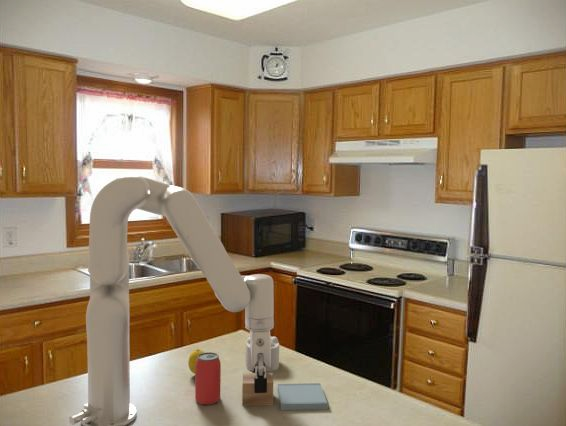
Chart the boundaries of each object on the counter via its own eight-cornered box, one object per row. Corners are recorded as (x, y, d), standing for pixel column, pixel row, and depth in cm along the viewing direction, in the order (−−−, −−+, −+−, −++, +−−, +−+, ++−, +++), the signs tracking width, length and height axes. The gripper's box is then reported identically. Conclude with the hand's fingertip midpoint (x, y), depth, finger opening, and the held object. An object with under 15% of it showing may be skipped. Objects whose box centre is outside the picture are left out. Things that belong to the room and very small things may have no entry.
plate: (281, 410, 123) (281, 404, 123) (277, 389, 135) (277, 383, 135) (327, 409, 124) (327, 403, 124) (320, 388, 136) (320, 383, 136)
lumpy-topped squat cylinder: (247, 372, 147) (247, 344, 146) (244, 356, 160) (244, 330, 159) (280, 370, 148) (281, 343, 148) (275, 355, 161) (275, 329, 160)
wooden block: (272, 405, 126) (273, 383, 126) (242, 405, 126) (242, 383, 125) (272, 394, 133) (272, 372, 132) (242, 394, 132) (243, 373, 132)
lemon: (205, 379, 141) (205, 352, 140) (186, 378, 141) (186, 352, 140) (208, 371, 146) (208, 346, 146) (190, 371, 146) (190, 345, 146)
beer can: (225, 399, 128) (225, 356, 127) (205, 408, 124) (205, 362, 123) (209, 392, 133) (210, 349, 132) (190, 399, 128) (190, 355, 127)
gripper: (275, 332, 119) (276, 398, 121) (271, 311, 136) (272, 370, 138) (245, 333, 119) (246, 400, 120) (245, 312, 136) (245, 371, 137)
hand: (260, 384), depth 129 cm, fingers open, 9 cm apart
